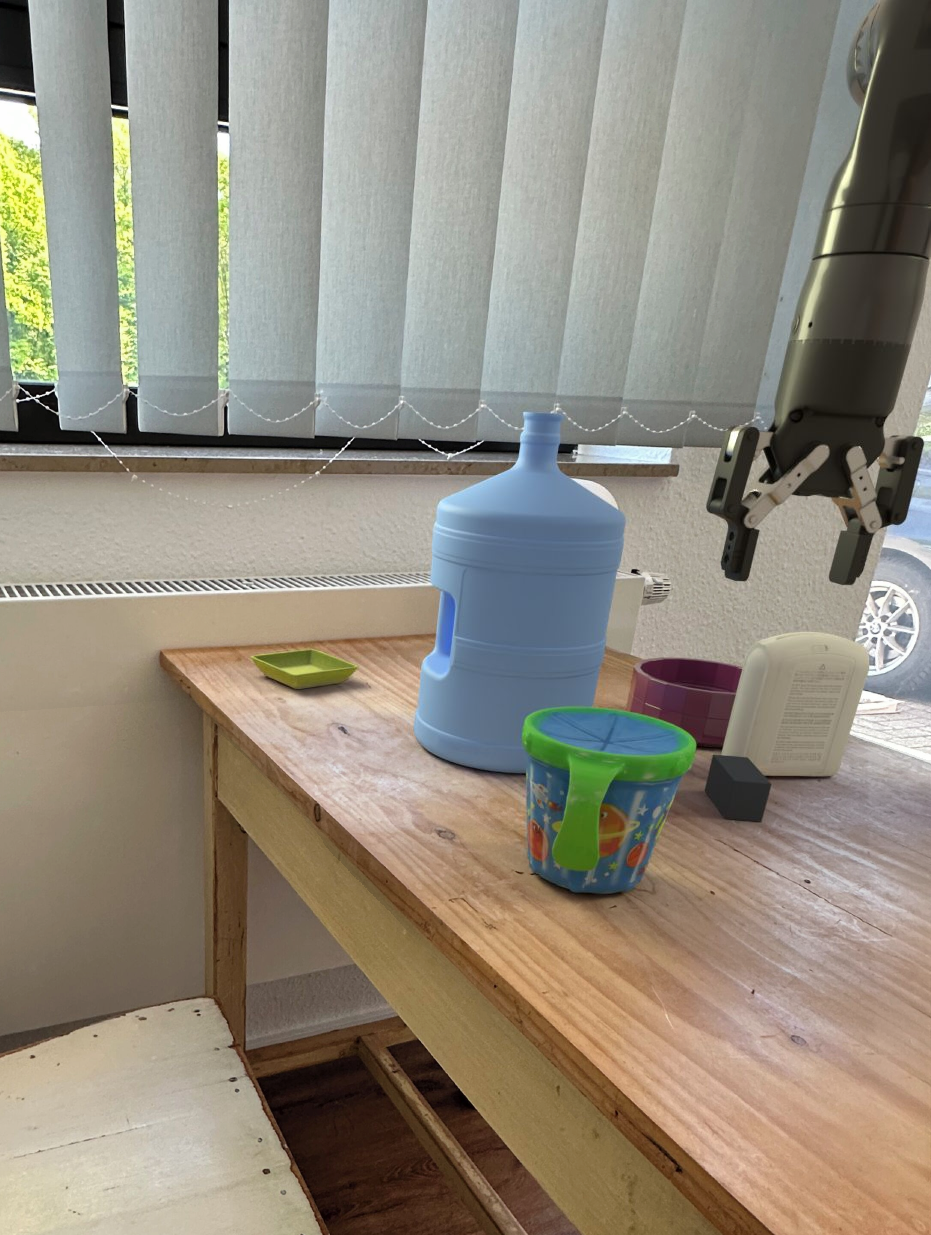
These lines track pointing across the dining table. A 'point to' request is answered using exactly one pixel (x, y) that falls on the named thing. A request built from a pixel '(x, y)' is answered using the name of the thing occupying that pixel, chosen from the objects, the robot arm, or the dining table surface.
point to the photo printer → (797, 703)
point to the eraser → (737, 788)
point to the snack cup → (599, 793)
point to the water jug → (516, 604)
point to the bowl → (686, 695)
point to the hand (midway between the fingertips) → (788, 581)
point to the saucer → (304, 668)
